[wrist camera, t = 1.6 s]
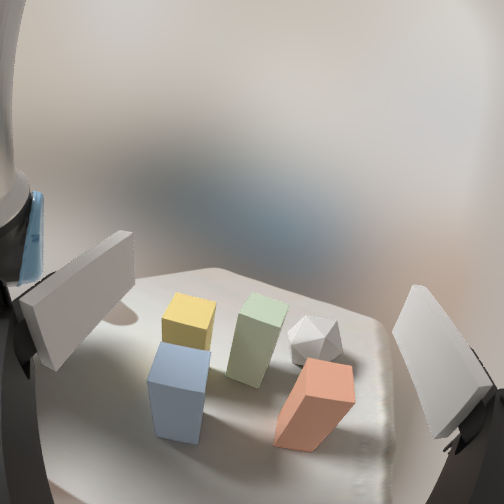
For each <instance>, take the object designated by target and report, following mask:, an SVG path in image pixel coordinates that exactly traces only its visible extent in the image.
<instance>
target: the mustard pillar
mask: <svg viewBox="0 0 504 504" xmlns="http://www.w3.org/2000/svg"><path fill="white" fill-rule="evenodd" d="M215 309H216V302H214V301H209V300H205V299H201V298H197V297H193V296H189V295H185V294H181V293H177V292H176V294H175V295H174V297H173V299H172V301H171V302H170V304H169V306H168V308H167V309H166V311H165V313H164V315H163V316H162V342H165V343H169V344H174V345H179V346H184V347H189V348H194V349H199V350H205V351H210V344H211V337H212V330H213V323H214V316H215Z"/></svg>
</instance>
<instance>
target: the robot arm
mask: <svg viewBox="0 0 504 504" xmlns="http://www.w3.org/2000/svg"><path fill="white" fill-rule="evenodd" d="M25 2H26V0H0V504H54V501H53V498H52V494H51V491H50V487H49V483H48V479H47V475H46V470H45V466H44V461H43V456H42V450H41V444H40V438H39V431H38V422H37V413H36V400H35V378H34V361H33V358H32V356H33V355H34V354H35V353H36V352H37V354H38V356H39V359H40V361H41V363H42V364H43V365H45V366H46V367H48V368H50V369H52V370H54V371H55V372H57V370H58V369H59V368H60V367H61V366H62V365H63V363H64V362H65V361H66V360H67V359H68V357H69V356H70V355H71V354H72V353H73V352H74V350H75V349H76V348H77V347H78V346H79V345H80V344H81V342H82V341H83V340H84V339H85V338H86V337H87V336H88V335H89V333H90V332H91V331H92V330H93V329H94V328H95V327H96V326H97V324H98V323H99V322H100V321H101V320H102V319H103V318H104V317H105V316H106V315H107V314H108V312H109V311H110V310H111V309H112V308H113V307H114V306H115V305H116V304H117V303H118V302H119V301H120V300H121V299H122V298H123V297H124V295H125V294H126V293H127V292H128V291H129V290H130V289H131V288H132V287H133V286H134V285H135V277H134V250H133V233H131V232H126V231H121V230H120V231H118V232H116V233H115V234H113V235H111V236H110V237H108V238H107V239H105V240H103V241H102V242H100V243H99V244H97V245H96V246H94V247H93V248H91V249H89V250H88V251H86V252H85V253H83V254H82V255H80V256H79V257H77V258H76V259H74V260H73V261H71V262H70V263H68V264H67V265H65V266H64V267H63V268H61V269H60V270H58V271H55V272H53V273H50V274H49V275H47V276H46V277H45V278H43V279H42V280H41V281H39V282H37V283H36V284H35V286H32V287H31V288H30V289H28V290H27V291H25V292H24V293H23V294H21V295H20V296H19V297H17V298H16V299H15V300H13V301H11V297H10V294H9V291H8V287H12V286H17V287H18V286H21V285H22V284H27V283H32V282H36V281H37V280H39V279H40V277H41V275H42V272H43V236H44V197H43V194H42V193H41V192H36V191H33V192H32V193H30V187H29V181H28V179H27V177H26V175H25V174H24V173H23V172H21V171H20V170H18V169H16V168H15V161H14V150H13V134H12V87H13V72H14V62H15V53H16V46H17V40H18V34H19V28H20V24H21V19H22V14H23V10H24V6H25ZM392 333H393V335H394V337H395V339H396V341H397V344H398V346H399V349H400V351H401V353H402V356H403V358H404V361H405V363H406V365H407V368H408V370H409V373H410V375H411V378H412V380H413V383H414V386H415V388H416V391H417V394H418V396H419V399H420V402H421V404H422V408H423V410H424V413H425V416H426V419H427V422H428V425H429V428H430V431H431V434H432V438H433V439H439V438H445V437H448V436H449V435H450V434H451V433H452V432H453V431H454V430H455V429H456V428H457V427H458V428H459V431H460V434H459V435H458V436H457V437H456V438H455V439H454V440H453V441H451V442H450V443H449V444H448V445H447V446H446V447H445V448H444V450H443V452H445V451H446V450H448V448H450V447H452V448H451V450H450V452H449V453H448V454H449V455H448V458H447V460H446V463H445V465H444V467H443V470H442V472H441V474H440V476H439V478H438V481H437V483H436V485H435V487H434V489H433V491H432V493H431V495H430V497H429V499H428V500H427V502H426V504H504V389H499V390H498V389H497V387H496V386H495V384H494V382H493V381H492V379H491V377H490V376H489V374H488V372H487V371H486V369H485V367H483V364H482V362H481V361H480V360H479V358H478V356H477V355H476V353H475V352H474V350H473V349H472V348H471V347H470V346H469V345H468V344H467V342H466V341H465V340H464V338H463V337H462V335H461V334H460V332H459V331H458V329H457V328H456V327H455V325H454V324H453V322H452V321H451V319H450V318H449V317H448V315H447V314H446V313H445V312H444V310H443V309H442V307H441V306H440V305H439V303H438V302H437V301H436V299H435V298H434V297H433V295H432V294H431V293H430V292H429V290H428V289H427V288H426V287H425V286H420V285H415V284H413V285H412V288H411V290H410V293H409V295H408V298H407V300H406V302H405V305H404V307H403V309H402V311H401V314H400V316H399V318H398V320H397V322H396V324H395V327H394V329H393V331H392Z"/></svg>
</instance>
